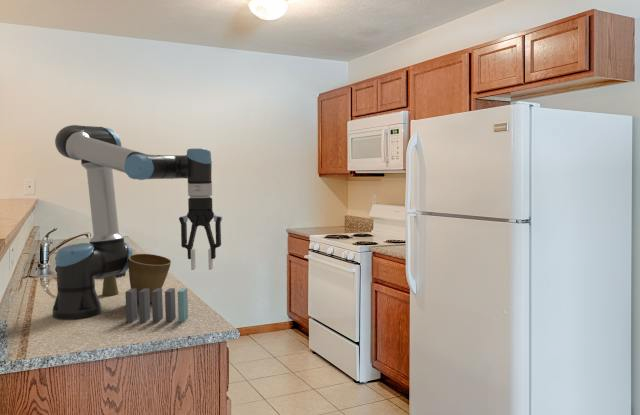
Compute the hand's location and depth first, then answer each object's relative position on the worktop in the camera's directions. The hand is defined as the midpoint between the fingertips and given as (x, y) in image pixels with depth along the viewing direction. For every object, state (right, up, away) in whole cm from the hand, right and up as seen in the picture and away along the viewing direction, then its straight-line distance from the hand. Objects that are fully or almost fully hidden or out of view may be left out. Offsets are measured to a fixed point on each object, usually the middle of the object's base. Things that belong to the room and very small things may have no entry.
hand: (202, 268), depth 170 cm
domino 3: (-15, -17, +1) cm, 22 cm away
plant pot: (-27, -15, +24) cm, 39 cm away
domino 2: (-19, -17, +1) cm, 25 cm away
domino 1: (-23, -17, +1) cm, 29 cm away
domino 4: (-10, -17, +1) cm, 20 cm away
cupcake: (-57, -12, +75) cm, 95 cm away
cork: (-45, -15, +38) cm, 61 cm away
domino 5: (-6, -17, +1) cm, 18 cm away
